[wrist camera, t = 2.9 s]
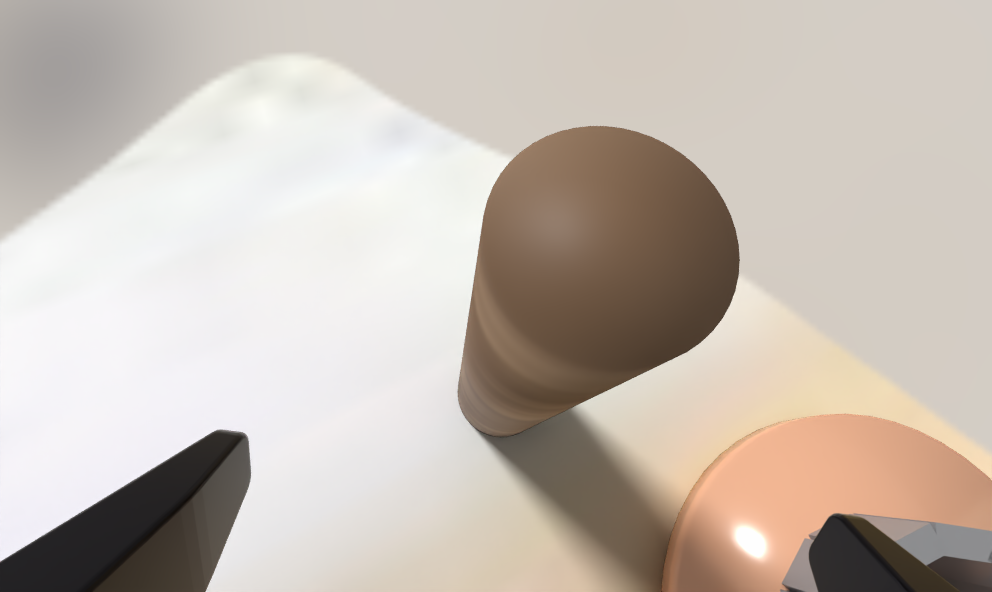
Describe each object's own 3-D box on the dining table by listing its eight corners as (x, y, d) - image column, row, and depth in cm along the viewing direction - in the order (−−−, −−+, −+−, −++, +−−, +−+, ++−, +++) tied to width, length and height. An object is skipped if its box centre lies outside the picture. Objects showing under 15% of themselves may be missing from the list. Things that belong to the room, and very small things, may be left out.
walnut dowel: (557, 417, 18) (786, 312, 6) (476, 450, 18) (545, 410, 5) (524, 337, 19) (667, 100, 7) (445, 367, 19) (444, 166, 6)
